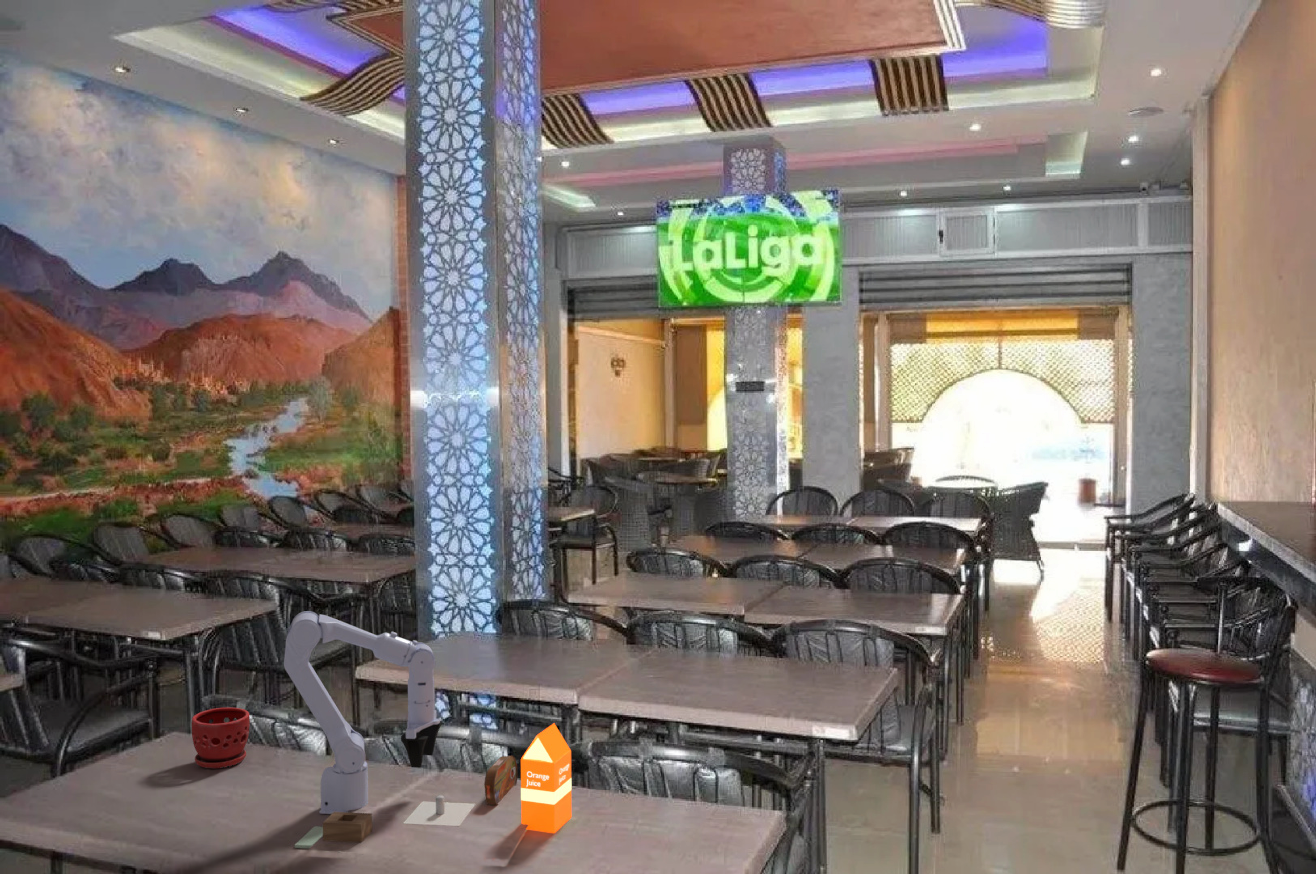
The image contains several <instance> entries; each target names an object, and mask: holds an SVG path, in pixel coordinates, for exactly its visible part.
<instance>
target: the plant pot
mask: <svg viewBox="0 0 1316 874" xmlns="http://www.w3.org/2000/svg"><path fill="white" fill-rule="evenodd" d="M226 718H227V719H228V721H227V722H226V721H225V719H226ZM235 719H236V720H235ZM211 720H212V722H210V721H211ZM250 724H251V723H250V712H249V711H248V710H246V709H243V708H239V707H218V708H217V707H215V708H211V709H210V708H209V709H207V710H203V711H200V712H199V713H196V714H194V715H193V716H192V718H191V737H192V742H193V747H194V749H195V751H196V753H197V754H196V755H195V757H194V761H195V763H196V764H197V765H198V766H200V767H201V768H204V769H223V768H222V767H224V768H228V767H227V766H229V767H232V765H233V766H235V765H237V763H238V764H239V763H241V762H242V761H243V760H244V759H245V758H246V757H247V752H246V750H245V747H246V745H247V742H248V738H249V734H250V727H251V725H250Z"/></svg>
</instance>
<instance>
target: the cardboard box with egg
mask: <svg viewBox="0 0 1316 874" xmlns="http://www.w3.org/2000/svg"><path fill="white" fill-rule="evenodd" d="M372 815H373V814H372V813H369V812H368V813H367V812H366V813H365V812H349V811H348V812H333V813H332V814H329V816H328V817H327V818H325V820H323V822H322V827H323V836H322V841H326V842H327V841H328V842H346V843H347V842H350V843H362V842H363V841H365V839H366V838H367V837H368V836H369V835H370V834H371V833H372V832H373V819H372V818H373V816H372Z"/></svg>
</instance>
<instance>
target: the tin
mask: <svg viewBox="0 0 1316 874" xmlns="http://www.w3.org/2000/svg"><path fill="white" fill-rule="evenodd" d="M517 783H518V764H517V760H516V757H515V756H514V755H504V756H500V757H499V758H498V759H497V760H496V761H495V762H494V763H493V764H492V765H491V766H490V767H489V768H488V769H487V771H486V773H485V776H484V783H483V784H484V797H485V802H486V804H487V805H490V806H491V805H493V806H498V805H499V803H500V802H501V801H502V799H504V798H505V796H507V794H508V793H509V792H510V791H511V789H512V788H513V787H515V786H517Z"/></svg>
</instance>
